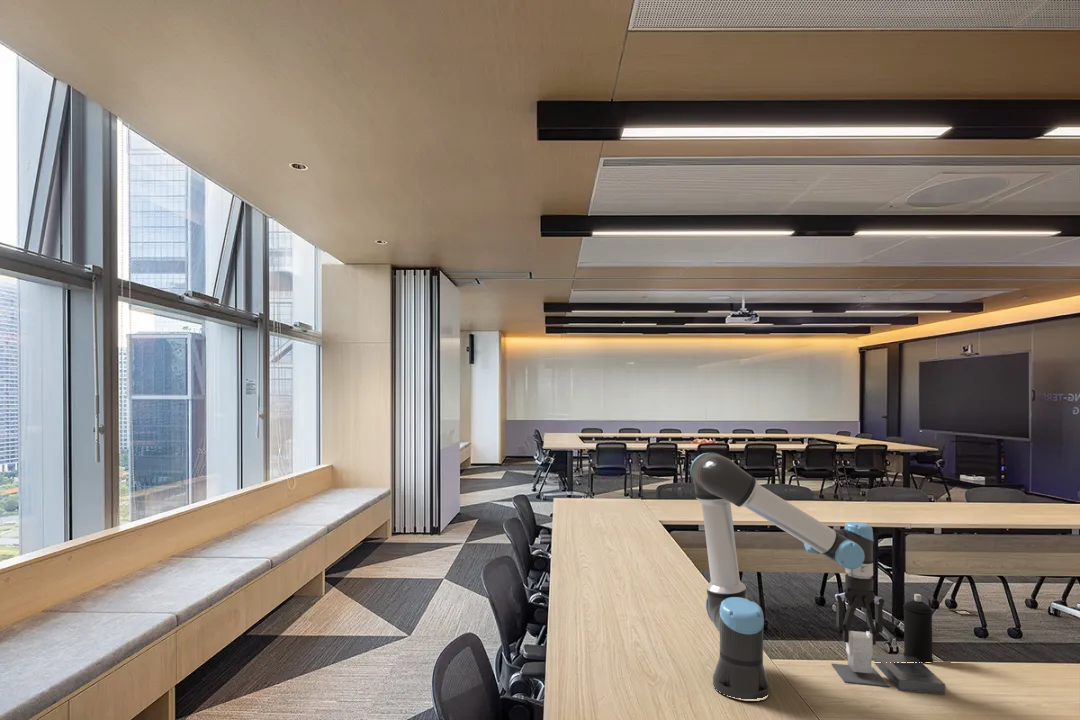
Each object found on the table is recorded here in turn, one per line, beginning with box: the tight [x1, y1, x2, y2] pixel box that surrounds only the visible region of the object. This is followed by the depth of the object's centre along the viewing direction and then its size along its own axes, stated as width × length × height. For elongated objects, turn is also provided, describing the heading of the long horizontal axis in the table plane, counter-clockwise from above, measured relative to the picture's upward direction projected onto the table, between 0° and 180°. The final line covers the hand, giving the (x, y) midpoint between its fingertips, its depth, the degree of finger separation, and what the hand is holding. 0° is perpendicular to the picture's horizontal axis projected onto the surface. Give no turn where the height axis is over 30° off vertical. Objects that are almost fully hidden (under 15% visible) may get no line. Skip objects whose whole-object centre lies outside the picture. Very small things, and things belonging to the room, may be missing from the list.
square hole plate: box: [873, 652, 946, 696], centre depth 179 cm, size 12×18×3 cm, turn 171°
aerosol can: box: [902, 593, 934, 663], centre depth 195 cm, size 8×8×20 cm
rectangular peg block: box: [846, 630, 872, 673], centre depth 180 cm, size 5×5×10 cm
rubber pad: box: [830, 663, 890, 688], centre depth 180 cm, size 12×12×1 cm
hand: (859, 654), depth 180 cm, fingers closed on rectangular peg block, 5 cm apart
